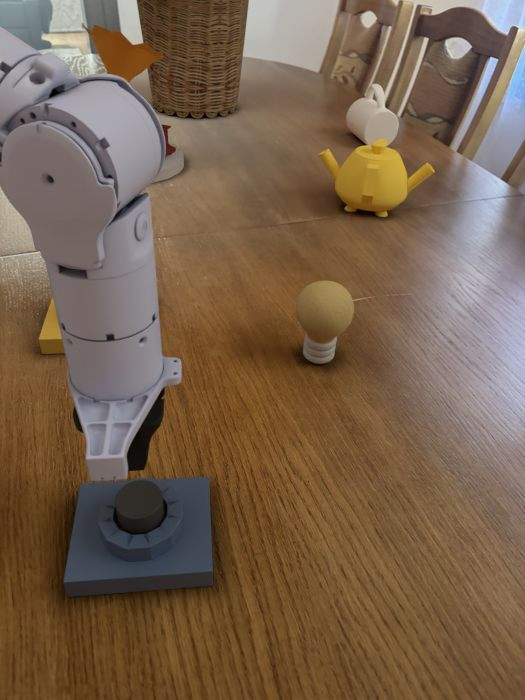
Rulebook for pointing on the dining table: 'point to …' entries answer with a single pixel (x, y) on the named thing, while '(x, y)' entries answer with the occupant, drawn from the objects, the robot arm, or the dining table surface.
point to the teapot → (373, 178)
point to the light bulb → (323, 318)
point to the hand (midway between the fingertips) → (131, 463)
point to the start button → (139, 506)
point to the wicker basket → (195, 54)
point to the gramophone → (128, 64)
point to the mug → (372, 118)
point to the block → (140, 541)
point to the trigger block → (51, 333)
